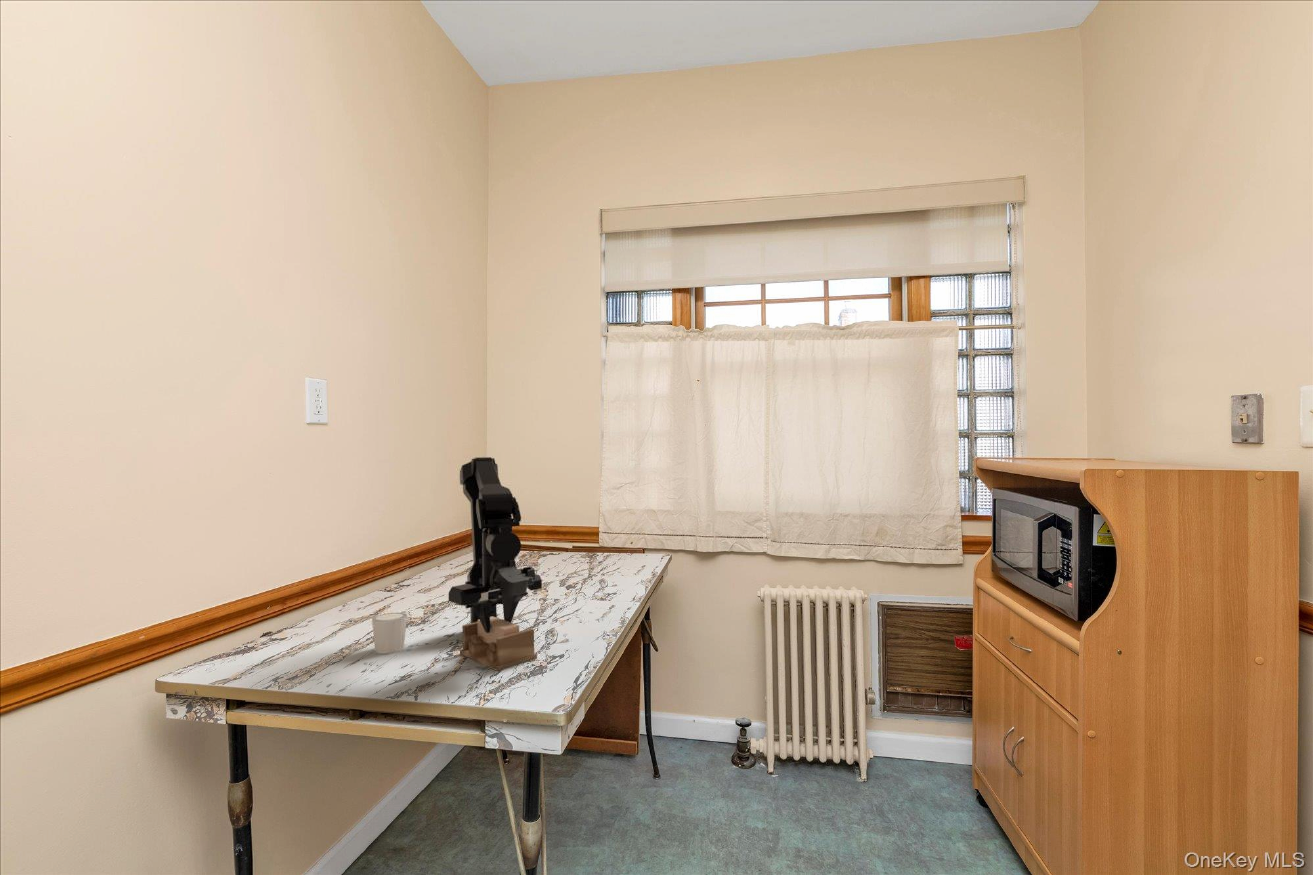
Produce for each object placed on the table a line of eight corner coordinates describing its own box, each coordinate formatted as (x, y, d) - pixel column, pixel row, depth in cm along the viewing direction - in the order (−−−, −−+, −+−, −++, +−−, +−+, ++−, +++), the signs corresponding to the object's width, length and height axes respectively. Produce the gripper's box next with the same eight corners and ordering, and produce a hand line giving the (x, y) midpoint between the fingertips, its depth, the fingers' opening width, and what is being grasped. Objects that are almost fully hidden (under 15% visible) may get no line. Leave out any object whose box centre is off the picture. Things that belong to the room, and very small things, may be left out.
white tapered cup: (414, 646, 129) (413, 613, 130) (388, 656, 123) (387, 622, 123) (391, 642, 132) (391, 610, 133) (364, 652, 126) (364, 618, 126)
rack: (460, 653, 124) (459, 625, 124) (498, 642, 131) (497, 616, 131) (497, 670, 114) (497, 640, 114) (536, 658, 121) (536, 629, 121)
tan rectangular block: (477, 639, 125) (477, 619, 125) (492, 635, 127) (492, 616, 127) (504, 649, 118) (504, 629, 118) (519, 645, 120) (519, 625, 120)
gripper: (476, 565, 111) (476, 650, 110) (557, 551, 124) (558, 627, 124) (446, 558, 118) (447, 637, 118) (526, 546, 132) (527, 617, 132)
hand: (497, 629), depth 123 cm, fingers open, 4 cm apart
